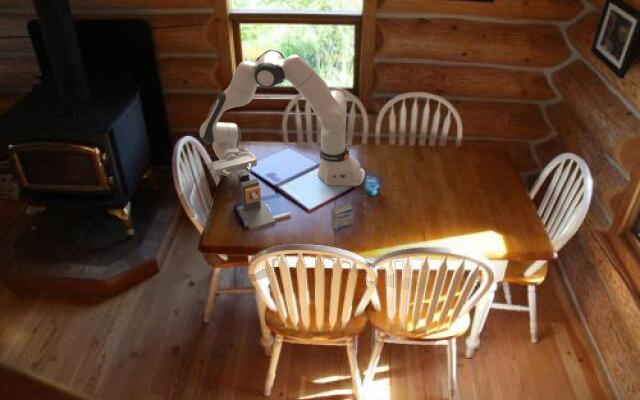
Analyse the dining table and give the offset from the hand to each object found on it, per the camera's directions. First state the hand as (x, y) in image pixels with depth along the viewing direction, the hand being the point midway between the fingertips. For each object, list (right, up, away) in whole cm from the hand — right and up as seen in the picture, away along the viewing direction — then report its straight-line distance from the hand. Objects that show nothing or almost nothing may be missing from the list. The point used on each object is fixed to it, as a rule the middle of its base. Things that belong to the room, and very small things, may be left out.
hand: (239, 173), depth 229 cm
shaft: (+5, -9, -7) cm, 13 cm away
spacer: (+7, -12, -10) cm, 17 cm away
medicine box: (+44, -22, -11) cm, 51 cm away
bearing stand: (+8, -19, -7) cm, 22 cm away
